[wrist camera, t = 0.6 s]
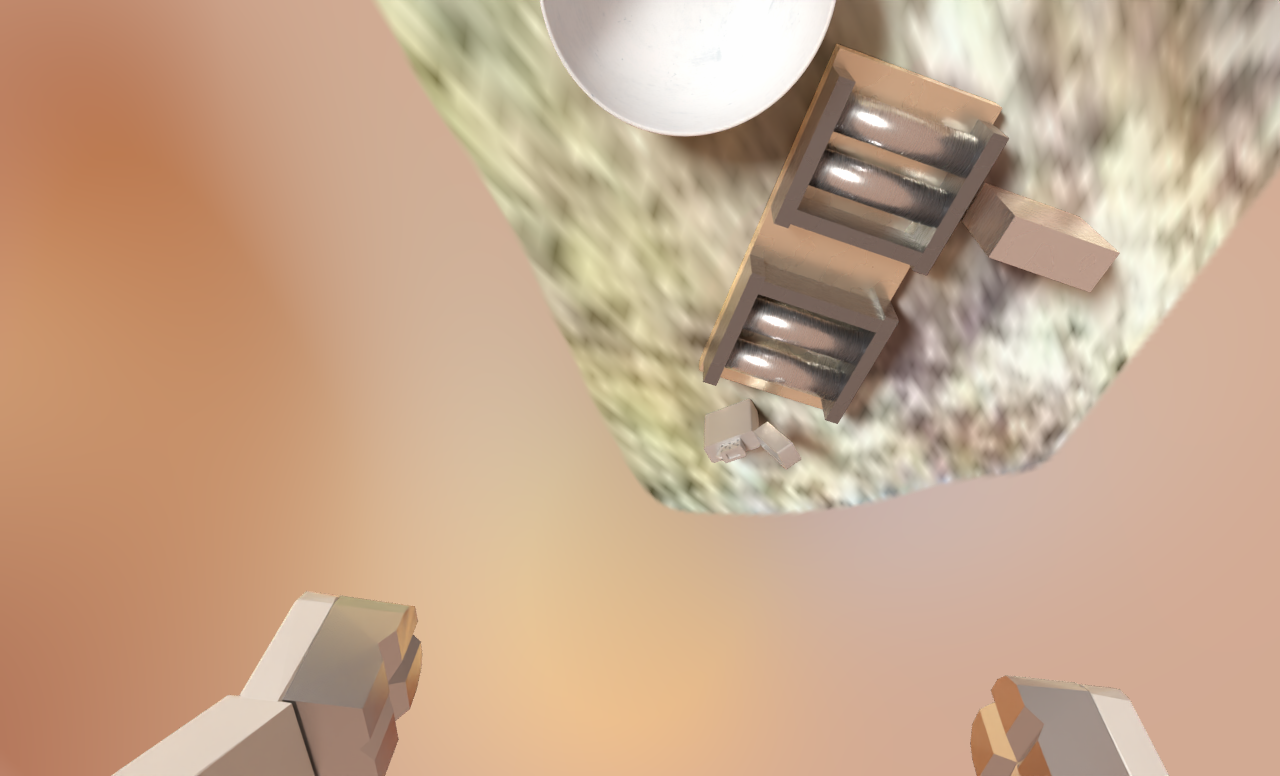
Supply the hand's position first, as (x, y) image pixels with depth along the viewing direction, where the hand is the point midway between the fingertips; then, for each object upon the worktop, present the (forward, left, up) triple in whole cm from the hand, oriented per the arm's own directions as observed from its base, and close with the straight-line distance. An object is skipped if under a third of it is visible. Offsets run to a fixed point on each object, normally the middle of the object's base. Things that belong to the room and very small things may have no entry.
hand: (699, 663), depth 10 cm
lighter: (+24, +12, -43) cm, 51 cm away
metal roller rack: (+9, +12, -43) cm, 45 cm away
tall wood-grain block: (+3, +23, -43) cm, 49 cm away
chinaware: (-4, -3, -43) cm, 43 cm away
